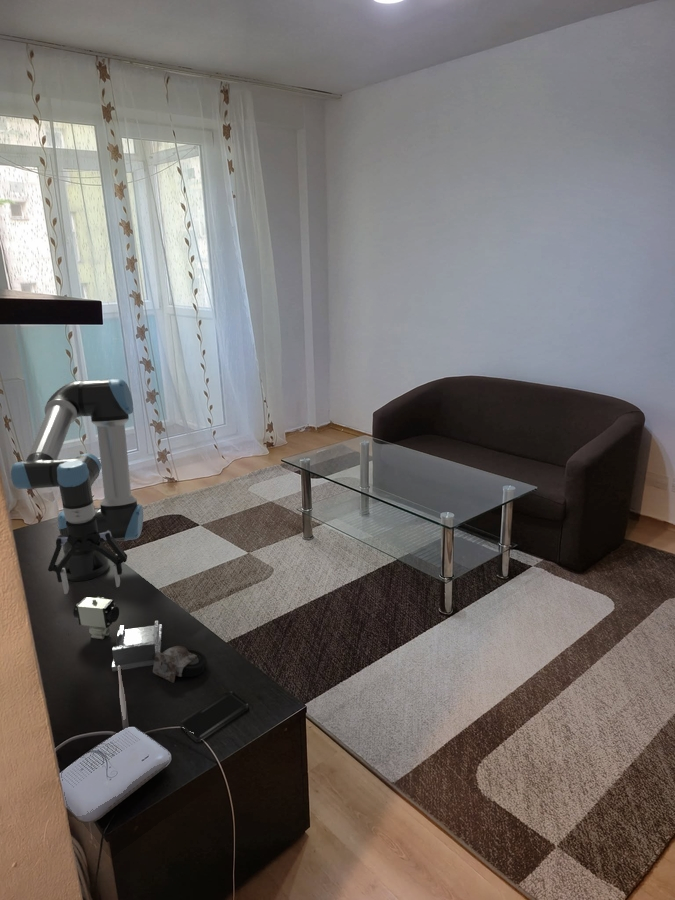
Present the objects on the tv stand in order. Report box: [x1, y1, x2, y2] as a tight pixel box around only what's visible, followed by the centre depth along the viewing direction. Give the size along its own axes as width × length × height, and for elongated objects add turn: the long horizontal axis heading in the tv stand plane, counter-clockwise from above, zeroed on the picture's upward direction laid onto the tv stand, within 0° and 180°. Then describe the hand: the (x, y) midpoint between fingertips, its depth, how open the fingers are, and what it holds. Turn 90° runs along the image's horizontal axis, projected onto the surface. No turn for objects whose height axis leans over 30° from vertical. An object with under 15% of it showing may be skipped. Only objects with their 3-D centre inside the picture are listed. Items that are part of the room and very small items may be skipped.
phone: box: [179, 690, 249, 743], centre depth 146 cm, size 8×1×15 cm
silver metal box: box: [111, 620, 163, 672], centre depth 170 cm, size 16×12×6 cm
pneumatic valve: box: [72, 596, 120, 640], centre depth 175 cm, size 6×12×12 cm, turn 78°
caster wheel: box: [152, 645, 207, 684], centre depth 161 cm, size 7×11×10 cm
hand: (92, 587), depth 172 cm, fingers open, 13 cm apart
